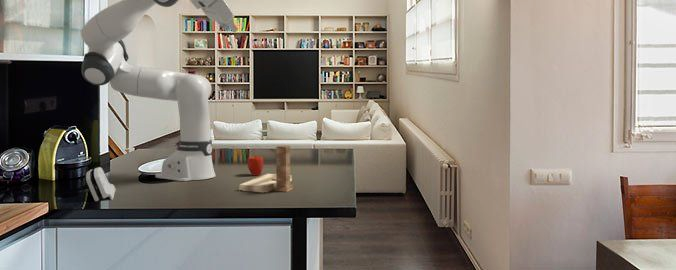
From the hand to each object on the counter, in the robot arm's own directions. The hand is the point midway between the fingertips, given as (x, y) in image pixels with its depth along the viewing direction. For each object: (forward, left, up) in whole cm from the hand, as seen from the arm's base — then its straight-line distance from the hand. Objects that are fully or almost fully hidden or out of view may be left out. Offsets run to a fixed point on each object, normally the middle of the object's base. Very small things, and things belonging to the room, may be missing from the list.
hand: (231, 29), depth 171 cm
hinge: (-34, -25, -54) cm, 69 cm away
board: (+9, +7, -54) cm, 55 cm away
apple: (-4, +24, -54) cm, 59 cm away
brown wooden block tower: (+18, +2, -54) cm, 57 cm away
